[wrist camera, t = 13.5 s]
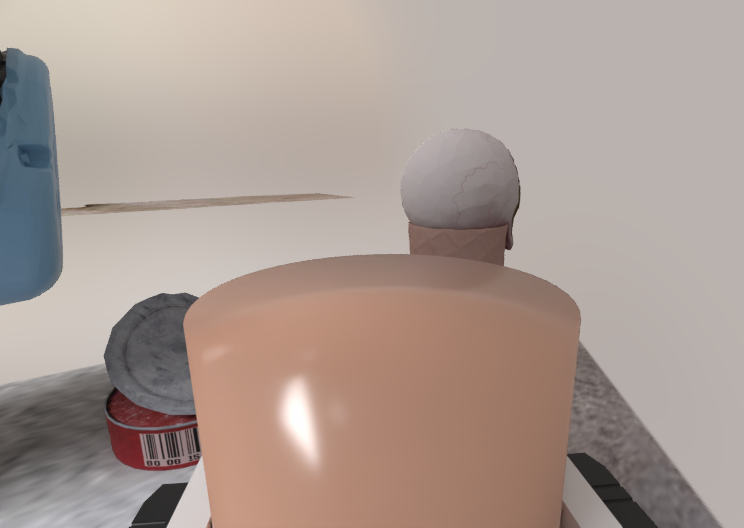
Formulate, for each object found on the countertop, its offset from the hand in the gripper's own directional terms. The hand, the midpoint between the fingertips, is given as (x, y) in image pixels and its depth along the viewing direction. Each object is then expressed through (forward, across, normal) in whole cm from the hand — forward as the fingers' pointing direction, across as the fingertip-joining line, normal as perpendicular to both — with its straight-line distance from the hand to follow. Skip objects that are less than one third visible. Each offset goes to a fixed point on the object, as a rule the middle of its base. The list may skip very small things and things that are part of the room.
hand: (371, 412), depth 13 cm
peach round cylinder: (-4, 0, -6) cm, 8 cm away
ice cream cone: (+26, +10, -9) cm, 30 cm away
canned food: (+14, -12, -9) cm, 20 cm away
